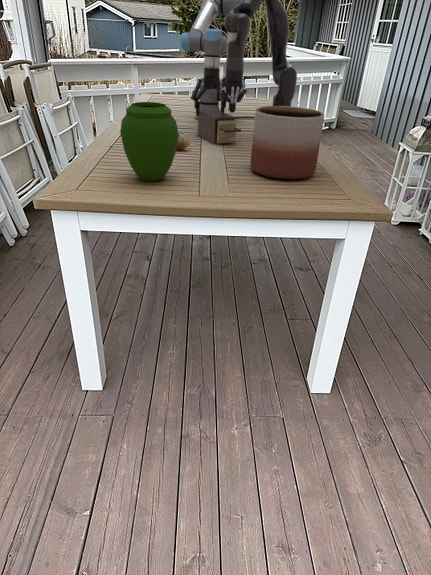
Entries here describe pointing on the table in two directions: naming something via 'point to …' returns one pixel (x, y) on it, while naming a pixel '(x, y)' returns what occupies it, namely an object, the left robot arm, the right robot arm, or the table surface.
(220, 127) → the drawer
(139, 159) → the vase
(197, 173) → the table surface
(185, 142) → the seashell
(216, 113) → the small wooden cabinet
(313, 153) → the planter
